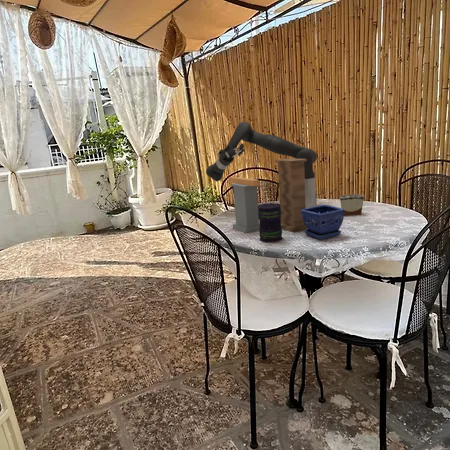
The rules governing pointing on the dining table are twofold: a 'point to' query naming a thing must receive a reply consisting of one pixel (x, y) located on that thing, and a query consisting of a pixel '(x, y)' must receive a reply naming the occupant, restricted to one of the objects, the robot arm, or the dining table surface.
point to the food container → (352, 204)
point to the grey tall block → (246, 208)
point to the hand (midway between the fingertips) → (236, 145)
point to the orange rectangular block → (244, 181)
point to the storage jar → (270, 222)
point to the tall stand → (292, 193)
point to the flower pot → (323, 221)
